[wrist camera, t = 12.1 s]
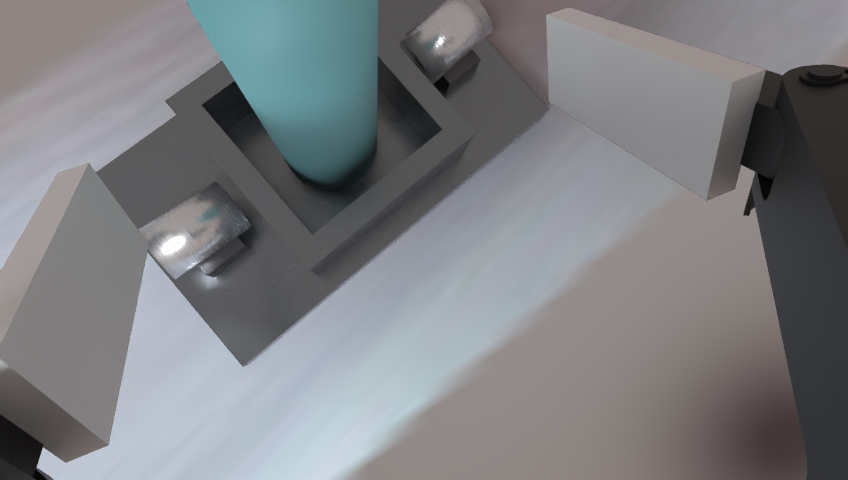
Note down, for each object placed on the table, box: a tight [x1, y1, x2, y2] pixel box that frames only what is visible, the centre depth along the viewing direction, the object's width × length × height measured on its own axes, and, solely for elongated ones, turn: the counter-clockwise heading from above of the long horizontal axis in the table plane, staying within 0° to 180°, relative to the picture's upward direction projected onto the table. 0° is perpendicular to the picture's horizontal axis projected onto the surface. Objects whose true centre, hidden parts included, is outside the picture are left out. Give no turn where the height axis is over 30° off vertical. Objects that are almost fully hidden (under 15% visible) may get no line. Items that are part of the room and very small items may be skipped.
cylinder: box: [186, 0, 378, 190], centre depth 17 cm, size 4×4×12 cm
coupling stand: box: [96, 0, 549, 367], centre depth 22 cm, size 19×11×4 cm, turn 131°
